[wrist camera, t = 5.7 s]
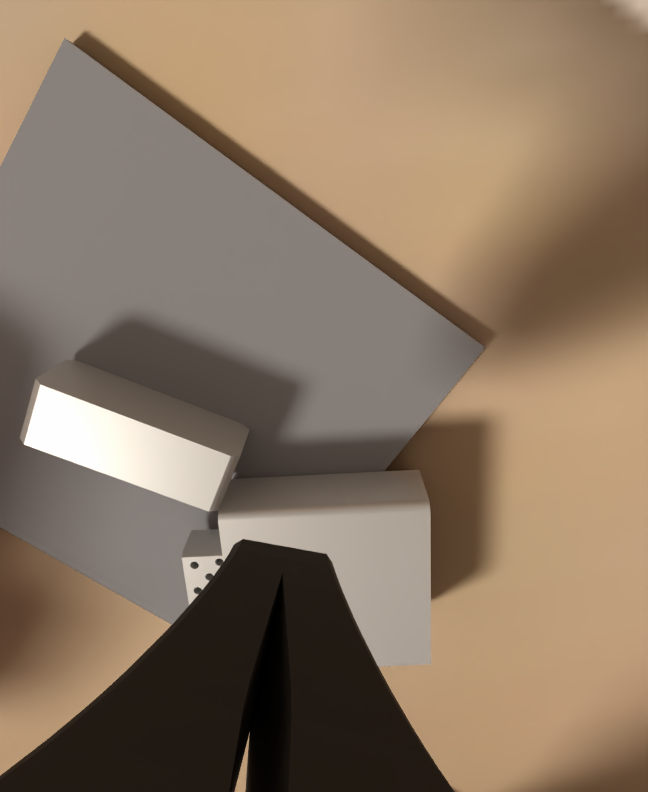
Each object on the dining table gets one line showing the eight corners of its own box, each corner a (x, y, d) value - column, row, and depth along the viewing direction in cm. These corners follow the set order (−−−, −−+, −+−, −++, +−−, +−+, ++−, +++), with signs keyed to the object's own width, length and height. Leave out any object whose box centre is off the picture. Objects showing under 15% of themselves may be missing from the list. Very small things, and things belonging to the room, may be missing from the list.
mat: (481, 344, 13) (485, 347, 13) (233, 649, 16) (231, 658, 15) (71, 42, 11) (64, 38, 11) (-131, 443, 14) (-140, 448, 14)
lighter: (431, 670, 13) (73, 684, 13) (419, 617, 15) (101, 631, 15) (429, 358, 11) (1, 383, 11) (416, 338, 13) (43, 358, 13)
